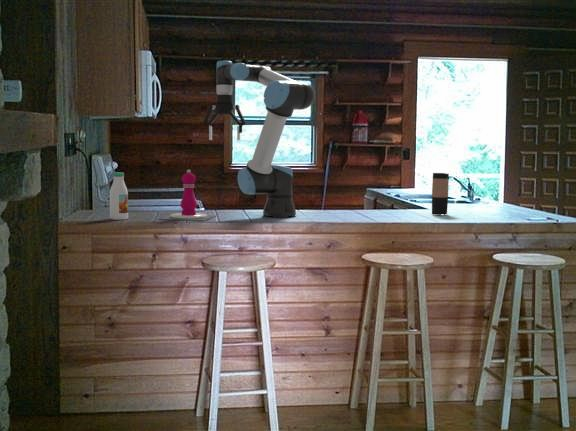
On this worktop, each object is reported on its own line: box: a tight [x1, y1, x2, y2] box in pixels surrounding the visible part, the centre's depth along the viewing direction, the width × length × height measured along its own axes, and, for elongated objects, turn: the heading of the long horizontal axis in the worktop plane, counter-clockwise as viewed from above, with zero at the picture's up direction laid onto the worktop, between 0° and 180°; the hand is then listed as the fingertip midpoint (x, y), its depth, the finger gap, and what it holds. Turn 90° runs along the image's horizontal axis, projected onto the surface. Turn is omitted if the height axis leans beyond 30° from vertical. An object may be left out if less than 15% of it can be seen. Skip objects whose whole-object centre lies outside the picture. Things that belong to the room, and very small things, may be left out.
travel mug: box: [431, 172, 450, 215], centre depth 346 cm, size 8×8×20 cm
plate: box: [169, 212, 208, 219], centre depth 317 cm, size 16×16×1 cm
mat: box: [159, 214, 217, 222], centre depth 317 cm, size 20×20×1 cm
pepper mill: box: [179, 169, 198, 215], centre depth 316 cm, size 7×7×20 cm
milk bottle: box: [109, 172, 129, 221], centre depth 308 cm, size 8×8×20 cm
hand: (224, 140), depth 339 cm, fingers open, 13 cm apart
